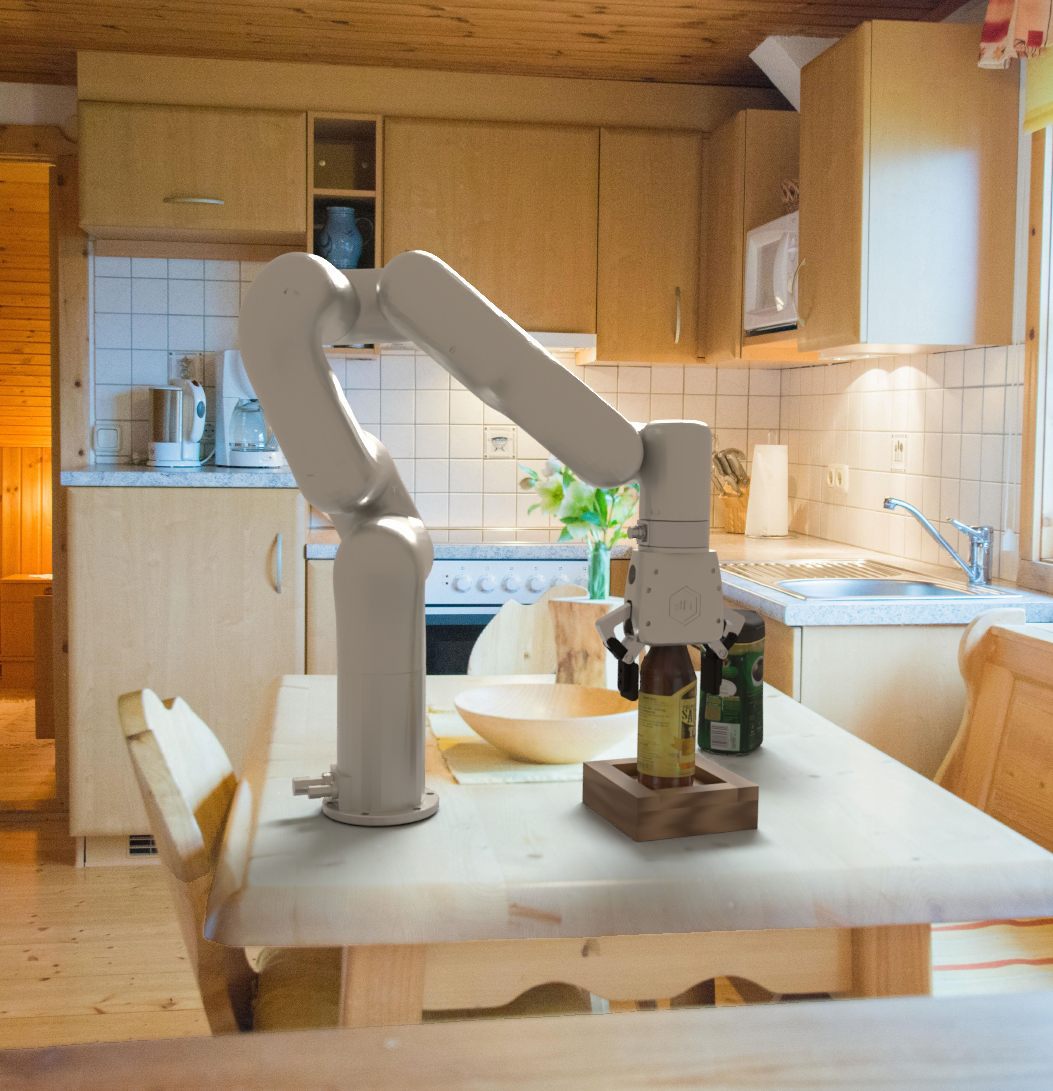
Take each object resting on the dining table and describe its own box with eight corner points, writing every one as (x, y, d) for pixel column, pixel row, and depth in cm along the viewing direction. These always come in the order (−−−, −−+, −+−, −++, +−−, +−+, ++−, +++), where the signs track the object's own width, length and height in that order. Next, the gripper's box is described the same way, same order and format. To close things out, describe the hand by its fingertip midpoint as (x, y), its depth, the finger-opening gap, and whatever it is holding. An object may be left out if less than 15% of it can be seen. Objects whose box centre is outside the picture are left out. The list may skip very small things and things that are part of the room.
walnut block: (636, 841, 114) (637, 797, 114) (582, 801, 127) (583, 761, 127) (757, 827, 119) (758, 785, 119) (693, 790, 132) (694, 752, 132)
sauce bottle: (692, 798, 119) (697, 609, 117) (633, 793, 120) (637, 607, 119) (696, 780, 125) (700, 601, 124) (639, 776, 127) (643, 599, 125)
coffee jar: (713, 736, 158) (717, 603, 156) (769, 744, 154) (773, 608, 153) (688, 751, 149) (691, 611, 148) (746, 760, 146) (750, 616, 144)
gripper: (614, 540, 114) (610, 708, 116) (763, 538, 120) (758, 698, 121) (584, 535, 121) (582, 693, 123) (727, 533, 127) (723, 684, 128)
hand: (669, 695), depth 122 cm, fingers open, 9 cm apart
